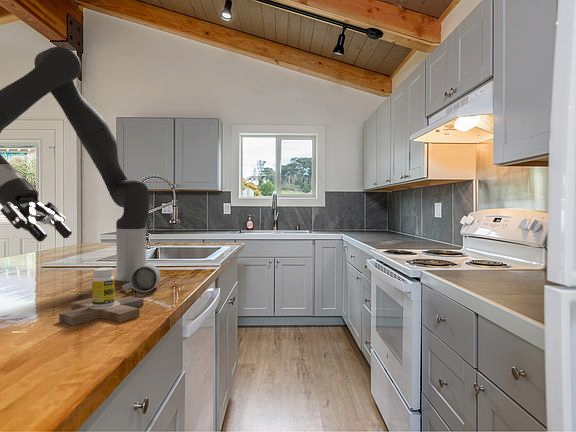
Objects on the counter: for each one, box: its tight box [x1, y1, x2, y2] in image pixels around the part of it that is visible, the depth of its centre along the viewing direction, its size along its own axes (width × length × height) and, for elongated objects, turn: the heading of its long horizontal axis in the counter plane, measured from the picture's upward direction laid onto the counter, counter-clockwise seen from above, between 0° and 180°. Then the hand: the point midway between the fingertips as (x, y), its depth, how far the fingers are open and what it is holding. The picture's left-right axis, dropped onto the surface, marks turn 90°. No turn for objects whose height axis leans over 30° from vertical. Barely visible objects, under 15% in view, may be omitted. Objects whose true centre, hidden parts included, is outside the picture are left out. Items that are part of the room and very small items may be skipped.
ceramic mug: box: [121, 263, 162, 293], centre depth 112 cm, size 11×8×8 cm
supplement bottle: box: [91, 267, 116, 307], centre depth 88 cm, size 5×5×8 cm
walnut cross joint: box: [58, 295, 145, 326], centre depth 88 cm, size 18×18×2 cm
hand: (56, 237), depth 88 cm, fingers open, 8 cm apart
